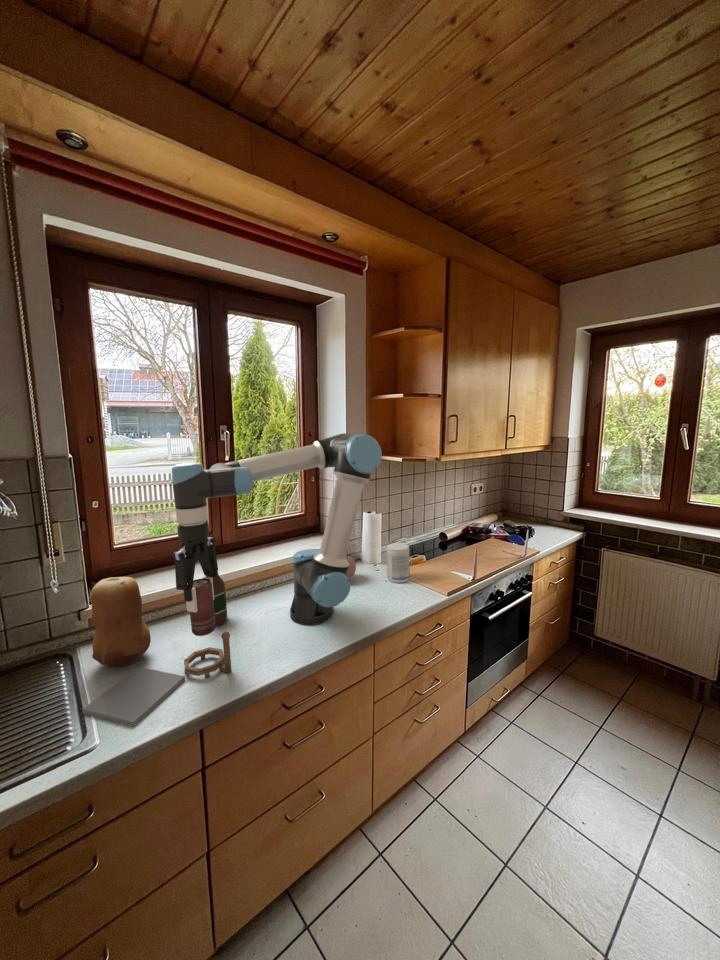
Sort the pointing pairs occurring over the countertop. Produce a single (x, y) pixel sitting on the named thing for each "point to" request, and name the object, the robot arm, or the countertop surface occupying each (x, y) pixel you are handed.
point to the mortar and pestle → (351, 568)
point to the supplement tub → (398, 562)
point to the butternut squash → (118, 622)
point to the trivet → (134, 696)
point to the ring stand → (213, 651)
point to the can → (203, 609)
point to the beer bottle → (219, 600)
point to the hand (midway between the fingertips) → (201, 605)
